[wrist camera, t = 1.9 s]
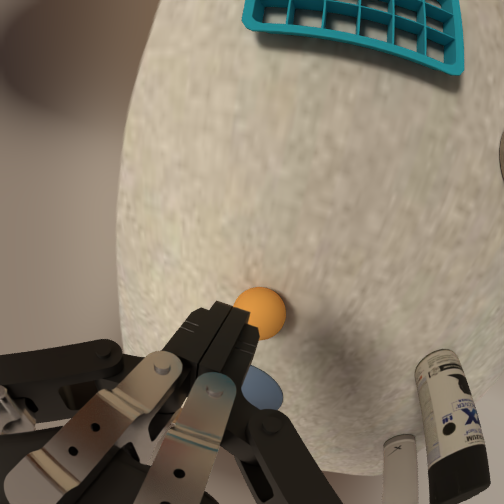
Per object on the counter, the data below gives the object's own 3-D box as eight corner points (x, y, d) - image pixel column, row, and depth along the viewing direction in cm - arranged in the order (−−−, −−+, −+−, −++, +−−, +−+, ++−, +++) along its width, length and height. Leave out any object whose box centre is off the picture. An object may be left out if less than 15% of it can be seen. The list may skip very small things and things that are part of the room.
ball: (295, 286, 28) (287, 317, 24) (282, 325, 31) (272, 357, 26) (246, 271, 29) (229, 297, 24) (237, 311, 32) (221, 340, 27)
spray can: (465, 357, 26) (501, 482, 8) (431, 388, 29) (448, 509, 11) (439, 341, 26) (477, 484, 8) (404, 374, 29) (415, 512, 11)
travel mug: (389, 434, 34) (386, 533, 17) (420, 433, 33) (424, 526, 15) (377, 449, 37) (369, 538, 19) (406, 448, 35) (405, 534, 18)
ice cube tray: (263, -38, 16) (256, -51, 13) (447, 0, 12) (457, -10, 9) (249, 40, 20) (239, 30, 18) (451, 85, 17) (464, 80, 14)
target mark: (295, 378, 34) (295, 379, 33) (269, 424, 40) (269, 425, 39) (198, 345, 36) (198, 346, 36) (193, 397, 42) (192, 398, 42)
